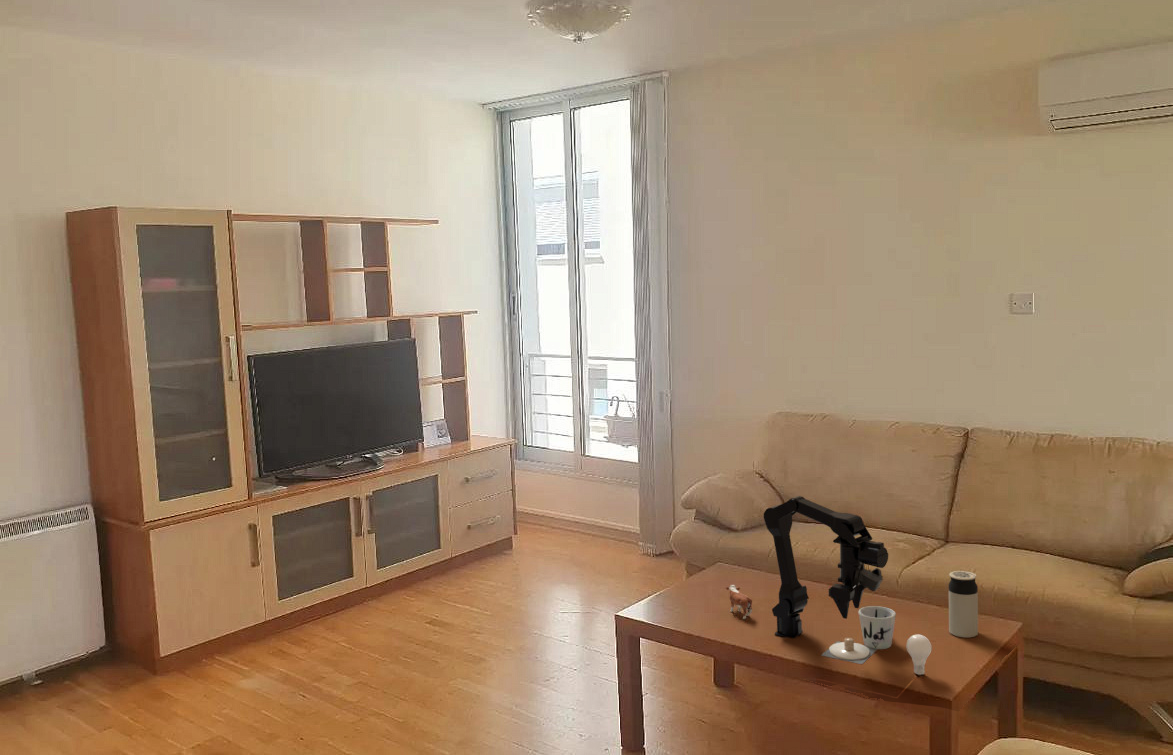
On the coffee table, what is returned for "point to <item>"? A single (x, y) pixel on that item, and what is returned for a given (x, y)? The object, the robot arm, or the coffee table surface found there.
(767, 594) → the coffee table surface
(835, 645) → the lid
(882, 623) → the mug
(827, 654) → the mat
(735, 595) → the bull figurine
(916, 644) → the lightbulb
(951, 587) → the travel mug
